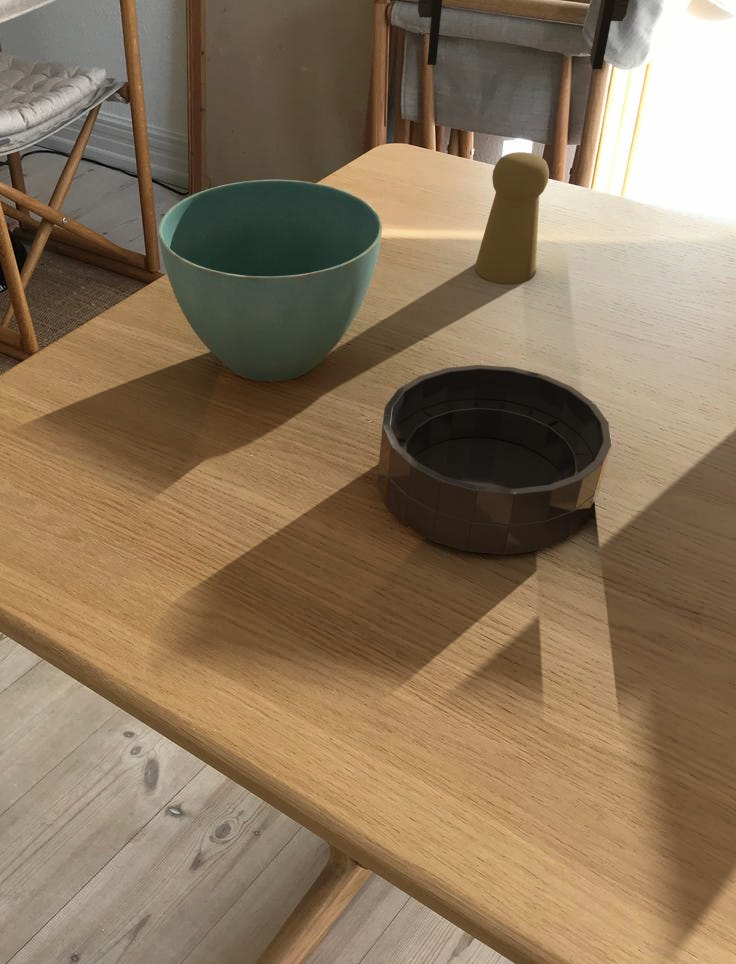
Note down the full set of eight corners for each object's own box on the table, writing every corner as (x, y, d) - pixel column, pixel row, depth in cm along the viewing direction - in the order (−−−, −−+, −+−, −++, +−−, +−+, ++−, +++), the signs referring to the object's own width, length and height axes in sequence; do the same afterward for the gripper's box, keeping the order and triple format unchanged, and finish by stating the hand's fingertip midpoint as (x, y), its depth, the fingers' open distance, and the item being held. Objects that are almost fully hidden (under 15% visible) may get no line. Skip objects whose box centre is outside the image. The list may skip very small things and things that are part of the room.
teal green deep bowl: (293, 439, 84) (295, 298, 76) (127, 369, 92) (111, 234, 84) (410, 346, 94) (423, 212, 86) (251, 290, 102) (249, 162, 94)
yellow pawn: (522, 289, 102) (542, 174, 94) (465, 274, 104) (480, 161, 96) (544, 264, 105) (566, 152, 98) (488, 250, 108) (505, 140, 100)
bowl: (585, 438, 84) (602, 373, 80) (600, 570, 73) (620, 502, 69) (385, 423, 86) (390, 358, 82) (369, 549, 75) (375, 482, 71)
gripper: (378, -264, 72) (362, 72, 87) (756, -268, 69) (671, 80, 84) (385, -274, 77) (368, 44, 92) (736, -279, 74) (660, 51, 89)
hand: (513, 62), depth 88 cm, fingers open, 13 cm apart
